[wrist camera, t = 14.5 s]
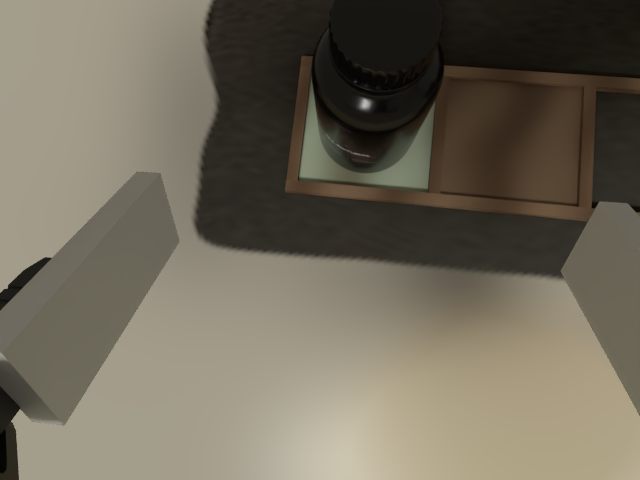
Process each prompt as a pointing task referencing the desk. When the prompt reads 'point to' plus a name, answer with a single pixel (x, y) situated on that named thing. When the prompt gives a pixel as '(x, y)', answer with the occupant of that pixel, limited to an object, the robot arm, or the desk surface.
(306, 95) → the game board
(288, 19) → the desk surface
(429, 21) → the supplement bottle
